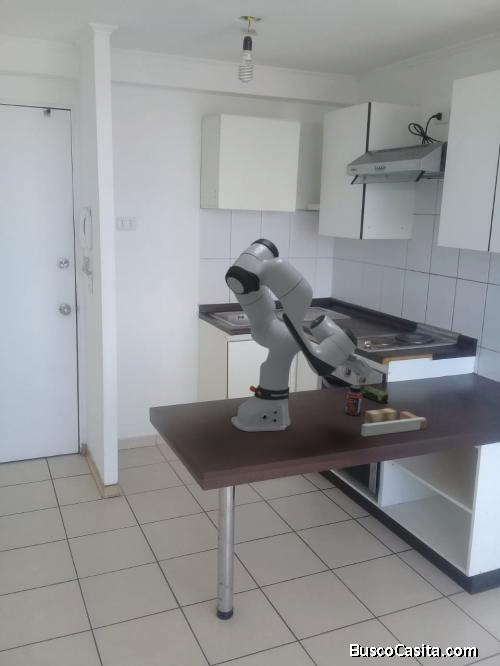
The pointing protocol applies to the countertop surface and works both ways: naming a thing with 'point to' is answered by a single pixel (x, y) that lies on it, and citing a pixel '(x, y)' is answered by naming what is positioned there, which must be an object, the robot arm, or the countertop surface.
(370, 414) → the long beige block
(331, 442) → the countertop surface
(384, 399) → the vegetable
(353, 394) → the supplement bottle
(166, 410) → the countertop surface
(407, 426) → the board
